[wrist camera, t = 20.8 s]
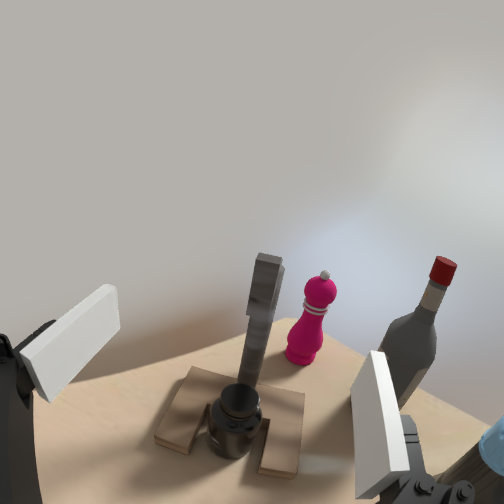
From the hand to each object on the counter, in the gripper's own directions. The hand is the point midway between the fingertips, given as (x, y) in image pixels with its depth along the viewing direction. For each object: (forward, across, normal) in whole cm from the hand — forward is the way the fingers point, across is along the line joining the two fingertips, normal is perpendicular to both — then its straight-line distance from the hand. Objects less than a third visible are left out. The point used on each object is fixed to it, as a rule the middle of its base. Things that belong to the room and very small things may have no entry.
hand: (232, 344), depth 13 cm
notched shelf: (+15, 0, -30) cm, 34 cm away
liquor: (+25, +24, -30) cm, 46 cm away
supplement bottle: (+12, 0, -30) cm, 32 cm away
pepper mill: (+36, +9, -30) cm, 48 cm away
